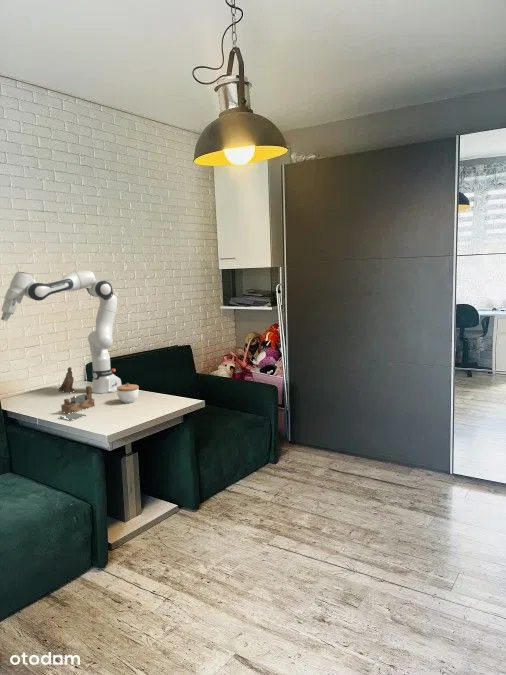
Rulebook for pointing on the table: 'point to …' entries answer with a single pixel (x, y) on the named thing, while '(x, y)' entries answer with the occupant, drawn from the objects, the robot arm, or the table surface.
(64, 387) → the worn brown figurine
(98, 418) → the table surface
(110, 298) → the robot arm
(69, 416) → the felt mat
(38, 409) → the table surface
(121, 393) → the lidded bowl
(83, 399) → the lever cap
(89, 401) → the plane body
